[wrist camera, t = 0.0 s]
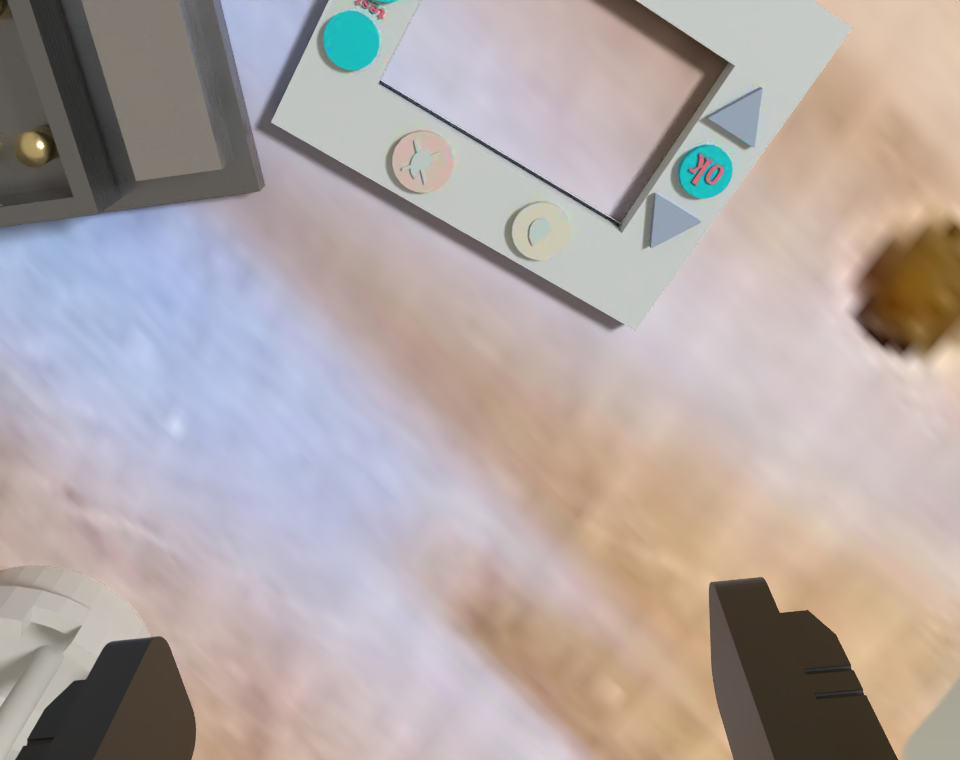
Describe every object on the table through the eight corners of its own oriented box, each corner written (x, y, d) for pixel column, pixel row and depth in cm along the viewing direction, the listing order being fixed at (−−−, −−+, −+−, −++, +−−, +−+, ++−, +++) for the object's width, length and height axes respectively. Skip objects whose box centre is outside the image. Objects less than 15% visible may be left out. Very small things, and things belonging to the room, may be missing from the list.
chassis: (-203, -61, 36) (-270, -61, 33) (189, -124, 35) (160, -130, 32) (-81, 232, 41) (-129, 256, 38) (264, 185, 40) (245, 206, 37)
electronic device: (856, 28, 35) (636, 334, 41) (837, 24, 37) (629, 315, 43) (448, -256, 32) (268, 124, 37) (451, -244, 34) (280, 114, 39)
